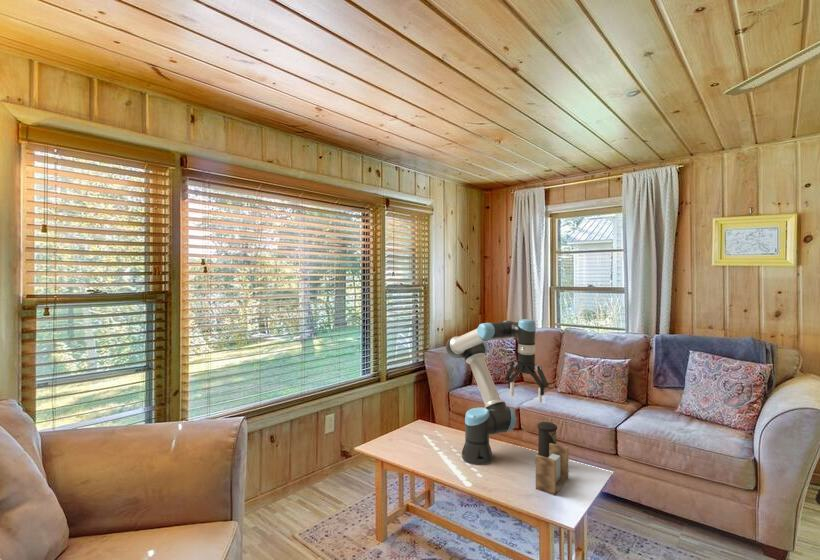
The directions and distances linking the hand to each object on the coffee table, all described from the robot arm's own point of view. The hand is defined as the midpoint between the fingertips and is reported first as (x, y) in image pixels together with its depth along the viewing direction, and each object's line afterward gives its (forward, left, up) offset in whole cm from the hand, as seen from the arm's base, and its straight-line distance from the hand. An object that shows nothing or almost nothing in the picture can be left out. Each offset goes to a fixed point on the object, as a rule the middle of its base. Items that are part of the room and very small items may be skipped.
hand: (525, 398), depth 188 cm
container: (+6, +10, -33) cm, 35 cm away
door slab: (+14, -6, -32) cm, 35 cm away
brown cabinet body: (+14, -5, -33) cm, 36 cm away
